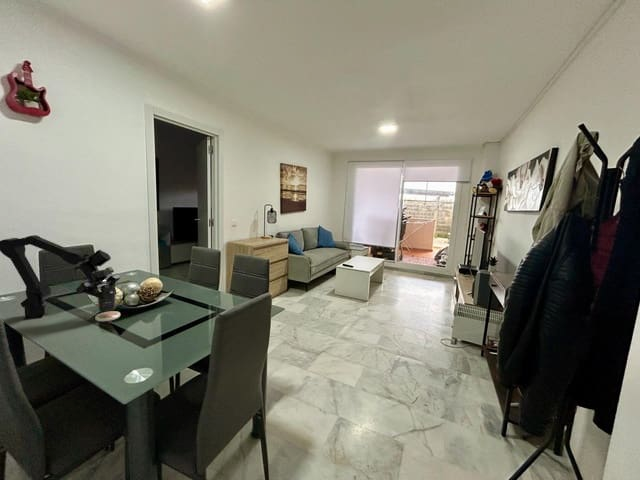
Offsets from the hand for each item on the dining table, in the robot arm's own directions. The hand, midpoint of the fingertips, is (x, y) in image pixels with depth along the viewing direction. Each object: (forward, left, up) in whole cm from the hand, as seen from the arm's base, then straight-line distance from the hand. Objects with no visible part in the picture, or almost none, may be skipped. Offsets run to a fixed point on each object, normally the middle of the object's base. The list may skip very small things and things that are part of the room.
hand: (109, 296), depth 134 cm
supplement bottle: (-1, +1, -7) cm, 7 cm away
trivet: (-1, +1, -11) cm, 11 cm away
